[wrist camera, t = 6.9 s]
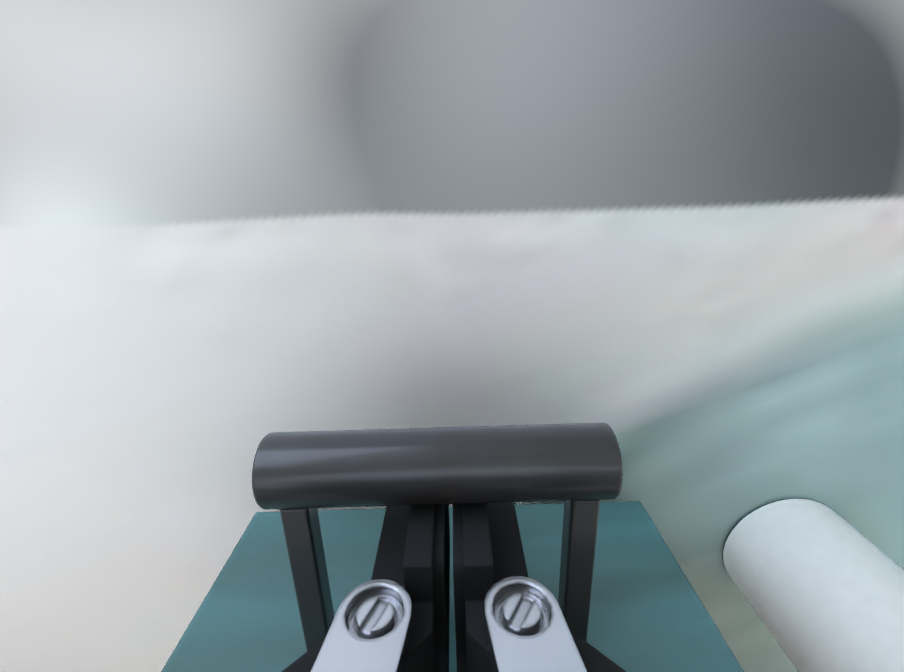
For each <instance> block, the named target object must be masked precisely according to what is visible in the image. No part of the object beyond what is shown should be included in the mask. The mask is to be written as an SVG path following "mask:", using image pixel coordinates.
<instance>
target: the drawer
mask: <svg viewBox="0 0 904 672" xmlns="http://www.w3.org/2000/svg"><path fill="white" fill-rule="evenodd" d="M621 485H622V460H621V454H620V449H619V445H618V442H617V439H616V436H615V434H614V432H613V430H612V429H611V427H610V426H609V425H608V424H605V423H577V424H544V425H510V426H477V427H443V428H409V429H376V430H342V431H309V432H275V433H270V434H268V435H266V436H265V437H264V438H263V439H262V441H261V442H260V444H259V446H258V449H257V452H256V455H255V459H254V464H253V472H252V487H253V494H254V498H255V500H256V502H257V504H258V505H259V506H260V507H261V508H263V509H280V512H257V513H255V515H254V517H253V519H252V520H251V522H250V524H249V525H248V527H247V529H246V530H245V532H244V534H243V535H242V537H241V539H240V540H239V542H238V544H237V545H236V547H235V549H234V550H233V552H232V554H231V555H230V557H229V559H228V560H227V562H226V564H225V566H224V567H223V569H222V571H221V572H220V574H219V576H218V577H217V579H216V581H215V582H214V584H213V586H212V587H211V589H210V591H209V592H208V594H207V596H206V597H205V599H204V601H203V602H202V604H201V606H200V607H199V609H198V611H197V613H196V614H195V616H194V618H193V619H192V621H191V623H190V624H189V626H188V628H187V629H186V631H185V633H184V634H183V636H182V638H181V639H180V641H179V643H178V644H177V646H176V648H175V649H174V651H173V653H172V654H171V656H170V658H169V659H168V661H167V663H166V665H165V666H164V668H163V670H162V671H161V672H282V671H283V670H284V669H285V668H287V667H288V666H289V665H290V664H292V663H293V662H294V661H296V660H297V659H298V658H299V657H301V656H302V655H303V654H305V653H306V652H307V651H308V650H310V649H311V648H312V647H314V646H315V645H316V644H317V643H319V642H320V641H321V640H322V639H324V638H325V637H326V636H327V633H328V631H329V629H330V626H331V624H332V622H333V620H334V617H335V615H336V613H337V610H338V608H339V606H340V604H341V603H342V601H343V599H344V598H345V596H346V595H347V594H348V593H350V592H351V591H352V590H353V589H354V588H355V587H357V586H359V585H361V584H362V583H365V582H368V581H371V578H372V573H373V568H374V564H375V559H376V554H377V549H378V544H379V540H380V535H381V530H382V525H383V521H384V516H385V511H386V509H352V510H318V509H317V508H327V507H362V506H396V505H431V504H465V503H500V502H534V501H564V503H559V504H525V505H515V510H516V515H517V521H518V526H519V531H520V536H521V541H522V546H523V551H524V556H525V562H526V567H527V572H528V577H529V578H531V579H534V580H536V581H538V582H540V583H542V584H543V585H544V586H546V587H547V588H548V589H549V590H550V591H551V592H552V594H553V595H554V597H555V598H556V600H557V602H558V604H559V606H560V609H561V611H562V614H563V616H564V618H565V621H566V623H567V625H568V628H569V629H570V630H571V631H573V632H574V633H575V634H577V635H578V636H579V637H581V638H582V639H583V640H585V641H586V642H588V643H589V644H590V645H592V646H593V647H594V648H596V649H597V650H598V651H600V652H601V653H602V654H604V655H605V656H606V657H608V658H609V659H610V660H612V661H613V662H614V663H616V664H617V665H618V666H620V667H621V668H622V669H624V670H625V671H626V672H744V671H743V670H742V668H741V666H740V665H739V663H738V661H737V660H736V658H735V656H734V655H733V653H732V652H731V650H730V648H729V647H728V645H727V643H726V642H725V640H724V638H723V637H722V635H721V633H720V632H719V630H718V629H717V627H716V625H715V624H714V622H713V620H712V619H711V617H710V615H709V614H708V612H707V610H706V609H705V607H704V606H703V604H702V602H701V601H700V599H699V597H698V596H697V594H696V592H695V591H694V589H693V587H692V586H691V584H690V583H689V581H688V579H687V578H686V576H685V574H684V573H683V571H682V569H681V568H680V566H679V564H678V563H677V561H676V560H675V558H674V556H673V555H672V553H671V551H670V550H669V548H668V546H667V545H666V543H665V541H664V540H663V538H662V537H661V535H660V533H659V532H658V530H657V528H656V527H655V525H654V523H653V522H652V520H651V518H650V517H649V515H648V514H647V512H646V510H645V509H644V507H643V505H642V504H641V502H640V501H628V502H600V500H603V499H614V498H616V497H617V496H618V495H619V493H620V490H621ZM449 522H450V621H449V672H457V661H456V635H455V609H454V583H453V507H449Z"/></svg>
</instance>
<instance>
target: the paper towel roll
mask: <svg viewBox="0 0 904 672" xmlns="http://www.w3.org/2000/svg"><path fill="white" fill-rule="evenodd" d="M723 561H724V566H725V569H726V571H727V573H728V574H729V576H730V577H731V579H732V580H733V581H734V583H735V584H736V586H737V587H738V588H739V590H740V591H741V593H742V594H743V595H744V597H745V598H746V599H747V601H748V602H749V604H750V605H751V606H752V608H753V609H754V611H755V612H756V613H757V615H758V616H759V617H760V619H761V620H762V622H763V623H764V624H765V626H766V627H767V629H768V630H769V631H770V633H771V634H772V635H773V637H774V638H775V640H776V641H777V642H778V644H779V645H780V647H781V648H782V649H783V651H784V652H785V653H786V655H787V656H788V658H789V659H790V660H791V662H792V663H793V665H794V666H795V667H796V669H797V670H798V671H799V672H904V570H903V569H902V568H901V567H900V566H899V565H897V564H896V563H895V562H894V561H893V560H891V559H890V558H889V557H888V556H887V555H885V554H884V553H883V552H882V551H881V550H880V549H878V548H877V547H876V546H875V545H874V544H872V543H871V542H870V541H869V540H868V539H866V538H865V537H864V536H863V535H862V534H860V533H859V532H858V531H857V530H856V529H855V528H853V527H852V526H851V525H850V524H849V523H847V522H846V521H845V520H844V519H843V518H841V517H840V516H839V515H838V514H837V513H835V512H834V511H833V510H832V509H831V508H829V507H828V506H826V505H824V504H822V503H819V502H816V501H812V500H807V499H786V500H781V501H776V502H773V503H770V504H767V505H765V506H762V507H760V508H758V509H756V510H755V511H753V512H752V513H750V514H748V515H747V516H746V517H745V518H743V519H742V520H741V521H740V522H739V523H738V524H737V525H736V526H735V528H734V529H733V530H732V531H731V533H730V535H729V536H728V538H727V540H726V543H725V546H724V551H723Z"/></svg>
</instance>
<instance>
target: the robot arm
mask: <svg viewBox="0 0 904 672" xmlns="http://www.w3.org/2000/svg"><path fill="white" fill-rule="evenodd" d="M453 583H454V609H455V635H456V661H457V672H626V671H625V670H624V669H622V668H621V667H620V666H618V665H617V664H616V663H614V662H613V661H612V660H610V659H609V658H608V657H606V656H605V655H604V654H602V653H601V652H600V651H598V650H597V649H596V648H594V647H593V646H592V645H590V644H589V643H588V642H586V641H585V640H583V639H582V638H581V637H579V636H578V635H577V634H575V633H574V632H573V631H571V630H570V629H569V628H568V625H567V623H566V621H565V618H564V616H563V614H562V611H561V609H560V606H559V604H558V602H557V600H556V598H555V597H554V595H553V594H552V592H551V591H550V590H549V589H548V588H547V587H546V586H544V585H543V584H542V583H540V582H538V581H536V580H534V579H531V578H529V577H528V572H527V567H526V562H525V556H524V551H523V546H522V541H521V536H520V531H519V526H518V521H517V515H516V510H515V505H514V502H500V503H465V504H453ZM449 621H450V522H449V504H431V505H396V506H386V511H385V516H384V521H383V525H382V530H381V535H380V540H379V544H378V549H377V554H376V559H375V564H374V568H373V573H372V578H371V581H368V582H365V583H362V584H361V585H359V586H357V587H355V588H354V589H353V590H352V591H351V592H350V593H348V594H347V595H346V596H345V598H344V599H343V601H342V603H341V604H340V606H339V608H338V610H337V613H336V615H335V617H334V620H333V622H332V624H331V626H330V629H329V631H328V633H327V636H326V637H325V638H324V639H322V640H321V641H320V642H319V643H317V644H316V645H315V646H314V647H312V648H311V649H310V650H308V651H307V652H306V653H305V654H303V655H302V656H301V657H299V658H298V659H297V660H296V661H294V662H293V663H292V664H290V665H289V666H288V667H287V668H285V669H284V670H283V671H282V672H449Z"/></svg>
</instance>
